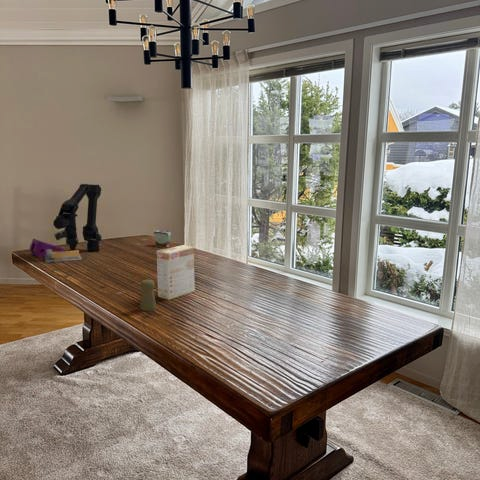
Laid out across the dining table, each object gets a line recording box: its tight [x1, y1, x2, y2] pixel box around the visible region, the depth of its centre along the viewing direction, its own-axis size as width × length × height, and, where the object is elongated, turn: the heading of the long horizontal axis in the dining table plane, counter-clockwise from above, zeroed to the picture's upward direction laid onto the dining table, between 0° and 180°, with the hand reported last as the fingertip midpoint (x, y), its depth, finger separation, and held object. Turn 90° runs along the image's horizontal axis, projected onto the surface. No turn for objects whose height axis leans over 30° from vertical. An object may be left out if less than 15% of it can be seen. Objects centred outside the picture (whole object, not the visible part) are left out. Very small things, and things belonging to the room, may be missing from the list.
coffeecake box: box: [156, 244, 196, 301], centre depth 181 cm, size 15×7×20 cm, turn 141°
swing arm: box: [46, 249, 80, 259], centre depth 239 cm, size 17×3×5 cm, turn 110°
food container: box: [153, 229, 172, 249], centre depth 275 cm, size 12×6×10 cm, turn 58°
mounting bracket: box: [29, 238, 67, 258], centre depth 251 cm, size 9×8×18 cm
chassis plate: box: [44, 253, 82, 263], centre depth 243 cm, size 18×14×1 cm
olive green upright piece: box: [139, 279, 157, 312], centre depth 165 cm, size 6×6×11 cm
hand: (72, 253), depth 243 cm, fingers closed
